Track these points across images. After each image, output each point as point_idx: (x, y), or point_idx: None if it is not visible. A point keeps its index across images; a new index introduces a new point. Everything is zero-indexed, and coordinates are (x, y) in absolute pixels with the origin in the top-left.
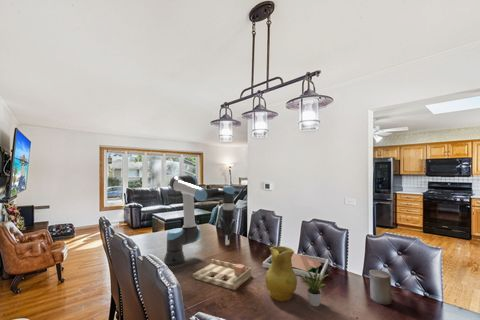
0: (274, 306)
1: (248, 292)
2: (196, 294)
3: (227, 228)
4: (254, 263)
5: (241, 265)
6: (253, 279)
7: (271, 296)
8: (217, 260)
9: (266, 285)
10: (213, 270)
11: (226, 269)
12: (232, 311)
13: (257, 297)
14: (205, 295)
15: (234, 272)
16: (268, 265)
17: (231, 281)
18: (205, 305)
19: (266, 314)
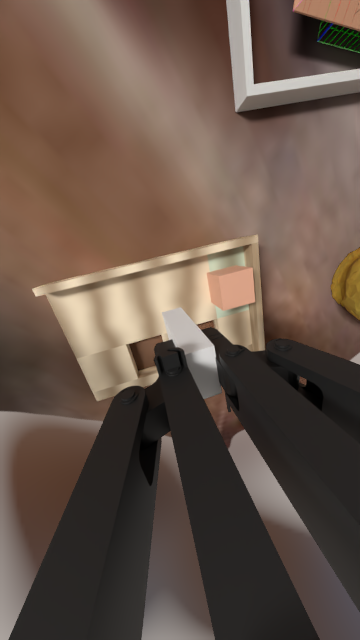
0: (354, 329)
1: (284, 328)
2: None
3: (221, 443)
4: (176, 89)
5: (240, 280)
6: (261, 256)
7: (341, 303)
8: (71, 283)
9: (356, 316)
10: (124, 335)
11: (156, 292)
12: None
13: (312, 328)
14: (208, 408)
15: (214, 304)
16: (275, 96)
17: (234, 342)
18: (236, 424)
19: (347, 359)
